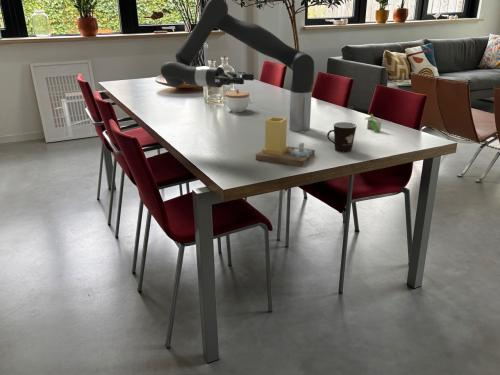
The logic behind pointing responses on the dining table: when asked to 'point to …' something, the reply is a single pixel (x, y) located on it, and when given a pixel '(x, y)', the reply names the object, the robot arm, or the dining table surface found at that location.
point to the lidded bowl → (237, 100)
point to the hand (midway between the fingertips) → (248, 79)
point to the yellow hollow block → (275, 136)
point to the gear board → (285, 157)
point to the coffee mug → (343, 136)
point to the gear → (301, 151)
